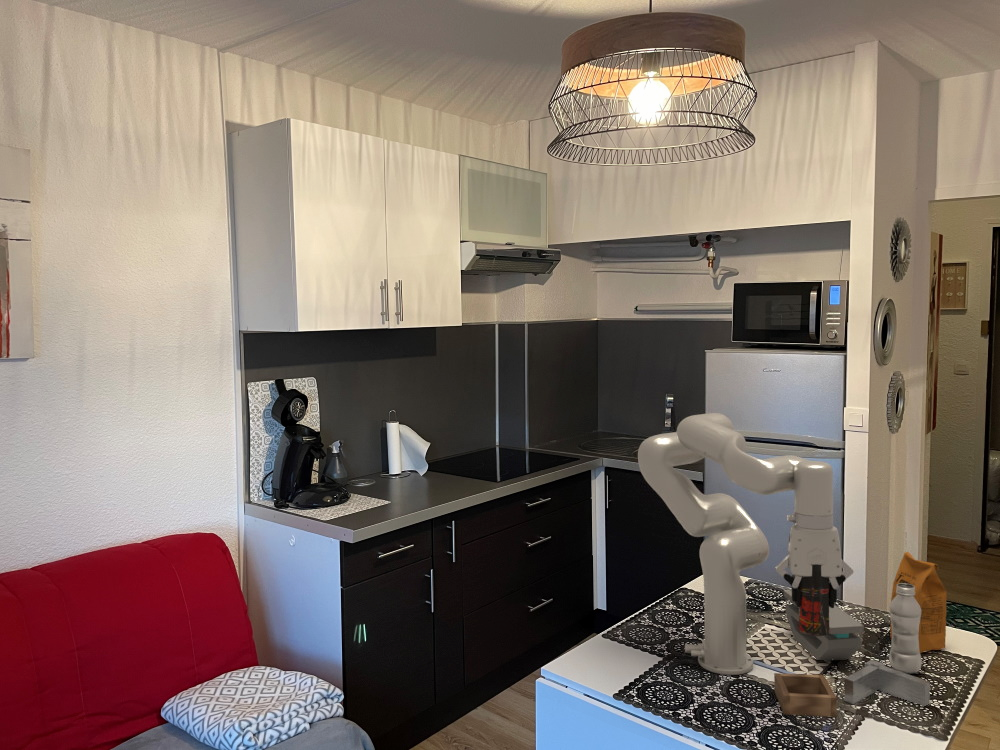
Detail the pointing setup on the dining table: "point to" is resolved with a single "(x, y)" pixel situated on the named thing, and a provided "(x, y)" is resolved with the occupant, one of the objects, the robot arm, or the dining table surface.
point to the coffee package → (925, 600)
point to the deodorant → (814, 604)
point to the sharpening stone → (832, 645)
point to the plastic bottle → (905, 630)
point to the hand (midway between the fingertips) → (814, 604)
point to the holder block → (805, 695)
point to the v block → (885, 684)
